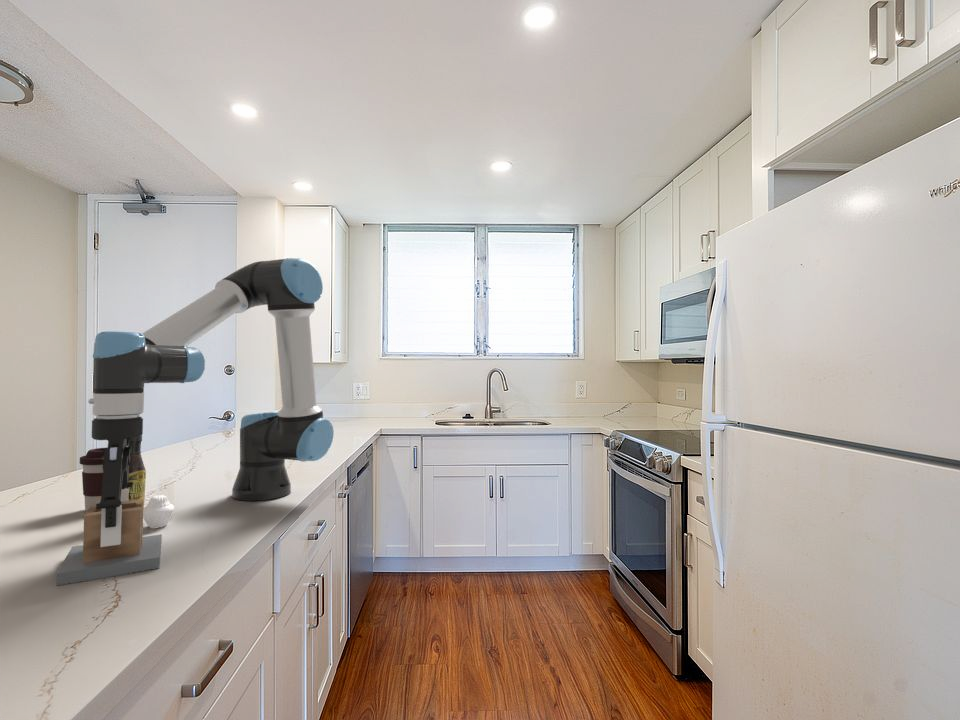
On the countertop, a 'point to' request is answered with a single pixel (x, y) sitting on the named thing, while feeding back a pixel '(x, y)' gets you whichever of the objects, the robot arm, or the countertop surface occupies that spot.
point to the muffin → (158, 511)
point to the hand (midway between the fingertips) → (115, 533)
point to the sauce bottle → (136, 471)
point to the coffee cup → (92, 476)
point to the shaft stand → (109, 563)
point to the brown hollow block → (129, 533)
